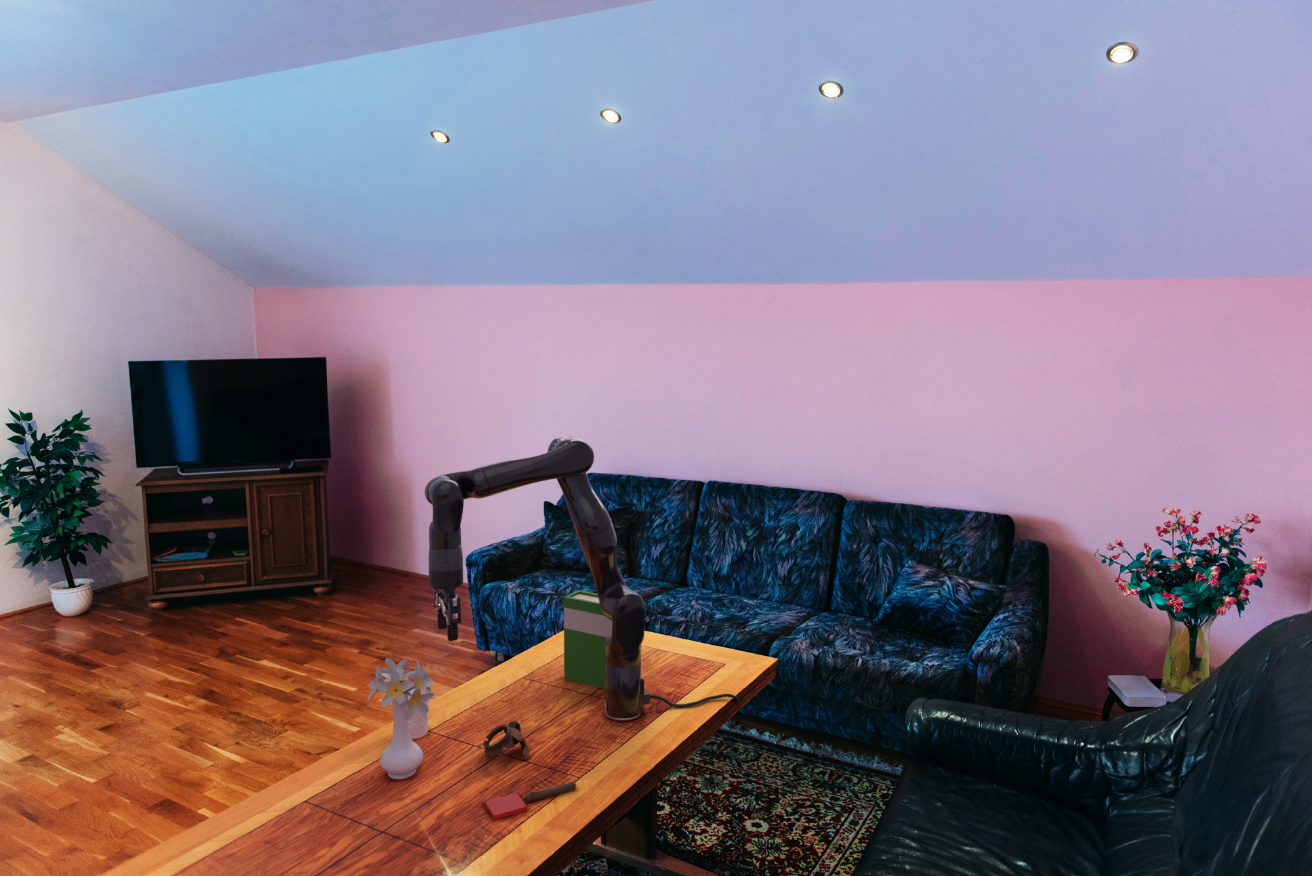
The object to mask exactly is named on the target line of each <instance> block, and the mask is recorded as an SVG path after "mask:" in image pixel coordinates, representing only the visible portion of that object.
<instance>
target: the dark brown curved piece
mask: <svg viewBox="0 0 1312 876" xmlns="http://www.w3.org/2000/svg"><path fill="white" fill-rule="evenodd" d="M502 732H503V733H504V734H505V735H504V736H503V737H502V738H501V739H500V740H499V741H497V742H496V743H494V744H491V745H490V743H491V741H492V740H493V739H494V738H495V737H496V736H497V735H498V734H499V733H502ZM485 737H486V739H484V741H483V742H482V746H483V748H484V755H485V756H486V757H488V758H491V757H492V758H493V757H496V756H499V757H504V755H503V750H504V748H505V749H514V748H516V745H518V744H519V745H520V749H521V750H522V752H521V754H522V756H523V759H524V760H525V761H527V759H529V755H530V750H529V746H528V744H527V741H526V739H525V737H524V735H523V734H522V728H521V724H520V723H519V722H518V721H517V720H512V721H510V722H508V724H507V723H504V724H500V725H497V726H496V727H494V728H492V730H490V732H488V734H486V736H485Z"/></svg>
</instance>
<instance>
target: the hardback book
mask: <svg viewBox="0 0 1312 876" xmlns="http://www.w3.org/2000/svg"><path fill="white" fill-rule="evenodd" d="M611 635H612V621H611V620H609V619H608V618H607V617H606V616H605V615H604V614H603V612H602V610H601V607H600V603H599V599H598V594H597V592H590V591H586V590H580V589H578V590H576V591H574V592H572V593H569V594H567V595H565V596H563V678H564V680H566V681H567V680H568V681H572V682H576V683H579V684H583V685H586V686H591V687H595V688H599V689H603V690H605V642H606V639H607V638H608V637H609V636H611Z"/></svg>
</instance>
